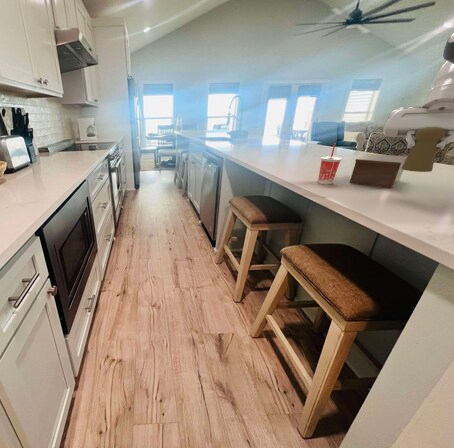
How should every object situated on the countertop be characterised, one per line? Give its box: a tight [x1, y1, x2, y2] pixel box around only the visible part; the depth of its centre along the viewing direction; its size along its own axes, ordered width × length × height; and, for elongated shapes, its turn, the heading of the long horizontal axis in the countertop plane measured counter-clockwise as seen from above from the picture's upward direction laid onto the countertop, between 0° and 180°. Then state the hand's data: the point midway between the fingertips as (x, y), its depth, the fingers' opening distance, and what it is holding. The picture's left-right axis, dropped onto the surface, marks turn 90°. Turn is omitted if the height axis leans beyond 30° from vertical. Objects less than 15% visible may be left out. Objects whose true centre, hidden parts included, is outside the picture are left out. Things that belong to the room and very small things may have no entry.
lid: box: [355, 153, 408, 165], centre depth 84 cm, size 14×12×1 cm
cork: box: [401, 127, 445, 173], centre depth 65 cm, size 6×6×11 cm
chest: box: [349, 160, 405, 190], centre depth 86 cm, size 14×12×8 cm
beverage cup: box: [317, 142, 343, 185], centre depth 87 cm, size 6×6×14 cm
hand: (424, 147), depth 64 cm, fingers closed on cork, 4 cm apart
